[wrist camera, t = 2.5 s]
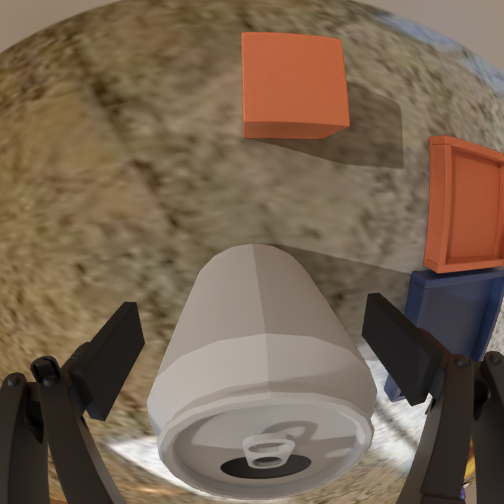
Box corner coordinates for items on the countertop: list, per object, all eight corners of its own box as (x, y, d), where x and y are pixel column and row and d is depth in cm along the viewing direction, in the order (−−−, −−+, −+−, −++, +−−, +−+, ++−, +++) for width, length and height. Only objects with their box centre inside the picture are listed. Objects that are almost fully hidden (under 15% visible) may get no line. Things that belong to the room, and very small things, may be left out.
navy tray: (411, 271, 17) (426, 280, 16) (497, 263, 18) (510, 269, 16) (383, 389, 20) (391, 403, 18) (467, 363, 21) (476, 372, 19)
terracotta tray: (428, 137, 15) (444, 134, 13) (499, 157, 15) (513, 157, 13) (422, 265, 17) (437, 273, 15) (492, 259, 18) (505, 265, 16)
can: (199, 347, 18) (168, 505, 7) (188, 241, 16) (93, 370, 5) (307, 343, 18) (360, 494, 7) (313, 238, 17) (434, 352, 5)
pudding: (430, 505, 39) (436, 516, 34) (462, 482, 36) (469, 493, 31) (443, 502, 41) (447, 512, 36) (471, 481, 39) (477, 490, 33)
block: (241, 67, 14) (241, 31, 9) (317, 70, 14) (341, 39, 9) (243, 138, 15) (243, 122, 10) (322, 139, 15) (350, 126, 11)
